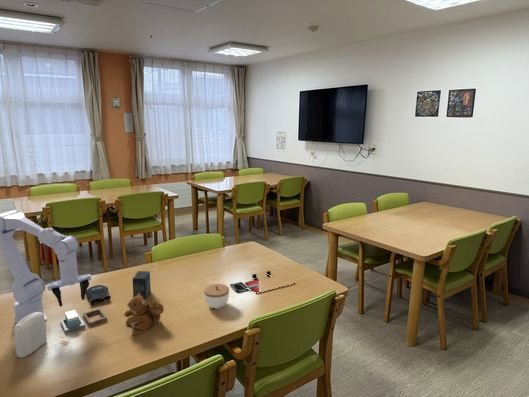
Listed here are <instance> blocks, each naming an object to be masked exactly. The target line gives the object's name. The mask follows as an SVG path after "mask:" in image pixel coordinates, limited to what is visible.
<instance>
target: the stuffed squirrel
mask: <svg viewBox="0 0 529 397" xmlns="http://www.w3.org/2000/svg"><path fill="white" fill-rule="evenodd" d="M126 308H128V310H126V311H125V312H124V317H125V318H127V319H126V321H125V325H128V326H131V327H132V328H133V329H132V331H131V336H137V335H139V334H142V333H145V332H147V330H149V328H150V327H153V326H154V325H157V324H158V322H159V321H160V319H161V317H162V316H161V315H162V314H163V313H164V311H165V309H164V308H165V307H164V304H163V305H162V304H161V303H159V302H158V301H156V300H152V301H149V302H148V303H147V304H146V300H144V299H143V297H142V296H141V294H140V293H139V294H138V295H137V296H135V297H134V298H133V297H132V299H130V300H129V301H128V303H127V307H126Z"/></svg>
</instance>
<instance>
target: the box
mask: <svg viewBox="0 0 529 397" xmlns="http://www.w3.org/2000/svg"><path fill="white" fill-rule="evenodd" d="M139 293H140V294H141V296H142V297H143V299H144V301H146V300H147V298H148V296H149V295H150V294H151V272H150V271H149V270H147V271H145V270H138V271H137V272H136V273H135V275H134V276H133V277H132V296H133V297H132V299H133V298H134V297H135V296H137V295H138V294H139Z"/></svg>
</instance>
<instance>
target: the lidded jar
mask: <svg viewBox="0 0 529 397" xmlns="http://www.w3.org/2000/svg"><path fill="white" fill-rule="evenodd" d="M203 294H204V301H205V302H206V305H207V306H209V308H210V307H211V308H210V309H212V308H215V309H214V310H219V309H218V308H220V309H222V308H223V307H224V306H225V305H226V304H227V303H228V302H229V301H228V300H229V297H230V287H229V286H227V285H226V284H223V283H213V284H209V285H207V286H206V287H205V288H204V289H203ZM221 307H222V308H221Z"/></svg>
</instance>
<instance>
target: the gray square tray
mask: <svg viewBox="0 0 529 397" xmlns="http://www.w3.org/2000/svg"><path fill="white" fill-rule="evenodd" d="M78 316H79V325H78V326H75V327H72V328H69V329H68V327H67V325H66V319H65V318H62V319H59V320H60V321H59V322H60V325H61V327H62V329H63V331H64V334H65V335H69V334H71V333H74V332H77V331H81V330H84V329H86V324H85V322H84V321H83V319H82V317H81V316H80V314H78Z"/></svg>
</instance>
